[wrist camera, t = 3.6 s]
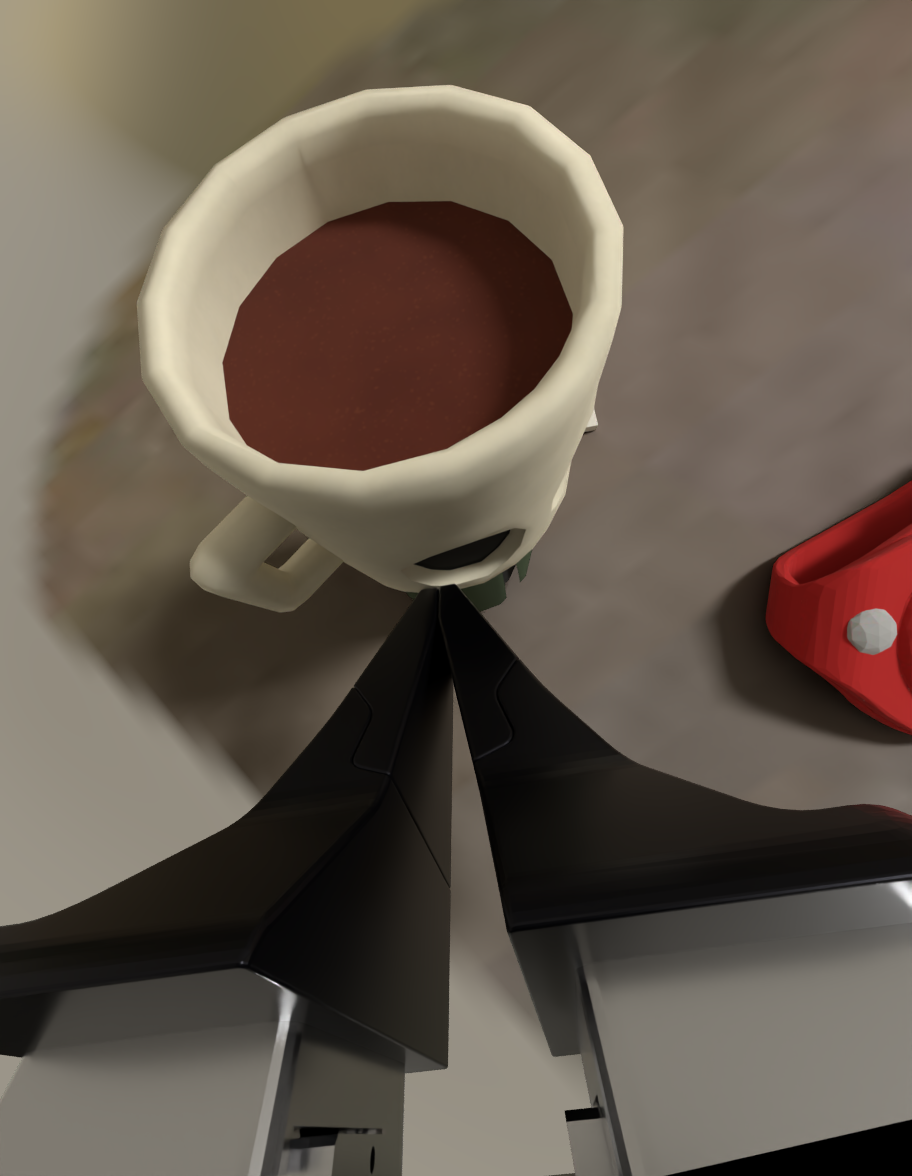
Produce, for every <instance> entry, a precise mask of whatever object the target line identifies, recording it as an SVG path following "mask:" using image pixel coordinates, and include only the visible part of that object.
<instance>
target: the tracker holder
mask: <svg viewBox="0 0 912 1176" xmlns="http://www.w3.org/2000/svg"><path fill="white" fill-rule="evenodd" d="M765 618H766V624H767V627H768V630H769V632H770V634H771V635H772V636H773V638H774V639H775V640H776V641H777V642H778V643H779V644H780V645H781V646H782V647H784V648H785V649H786V650H787V651H788V652H789V653H790V654H791V655H793V656H794V657H795V658H796V659H798V660H799V661H801V662H802V663H803V664H805V665H806V666H808V667H809V668H811V669H812V670H813V671H814V672H816V673H817V674H819V675H820V676H821V677H823V678H824V679H825V680H827V681H828V682H829V683H830V684H831V685H833V686H834V687H835V688H836V689H837V690H838V691H839V692H841V693H842V694H843V695H844V696H845V697H846V699H847V700H848V701H849V702H850V703H852V704H853V705H854V706H856V707H857V708H858V709H859V710H861V711H862V712H864V713H866V714H867V715H869V716H871V717H872V718H874V719H876V720H877V721H879V722H881V723H882V724H885V725H887V726H889V727H891V728H893V729H896V730H898V731H901V732H904V733H907V734H910V735H912V481H910V482H908V483H907V484H905V485H904V486H902V487H901V488H899V489H897V490H896V491H894V492H893V493H891V494H890V495H888V496H887V497H885V498H883V499H881V500H879V501H878V502H876V503H874V504H872V505H871V506H869V507H867V508H865V509H863V510H862V511H860V512H858V513H856V514H854V515H853V516H851V517H849V518H847V519H845V520H844V521H842V522H840V523H838V524H836V525H835V526H833V527H831V528H829V529H827V530H825V531H824V532H822V533H820V534H818V535H816V536H815V537H813V538H811V539H809V540H807V541H806V542H804V543H802V544H800V545H798V546H797V547H795V548H793V549H791V550H789V551H788V552H786V553H785V554H783V555H782V556H780V557H779V558H778V559H777V561H776V562H775V563H774V565H773V569H772V576H771V583H770V589H769V596H768V603H767V610H766V616H765Z"/></svg>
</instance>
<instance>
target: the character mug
mask: <svg viewBox="0 0 912 1176" xmlns="http://www.w3.org/2000/svg"><path fill="white" fill-rule="evenodd" d="M622 263H623V225H622V223H621V221H620V218H619V216H618V214H617V212H616V210H615V208H614V206H613V203H612V201H611V199H610V197H609V195H608V193H607V191H606V188H605V186H604V184H603V182H602V180H601V178H600V176H599V173H598V171H597V169H596V167H595V165H594V163H593V161H592V158H591V156H590V155H589V154H587V153H586V152H585V151H584V150H583V149H581V148H580V147H579V146H578V145H576V144H575V143H574V142H573V141H572V140H570V139H569V138H568V137H567V136H566V135H564V134H563V133H562V132H561V131H559V130H558V129H557V128H556V127H555V126H553V125H552V124H551V123H550V122H548V121H547V120H546V119H545V118H544V117H542V116H541V115H540V114H539V113H538V112H536V111H535V110H534V109H533V108H531V107H530V106H527V105H523V104H520V103H516V102H512V101H509V100H505V99H501V98H498V97H494V96H490V95H486V94H483V93H479V92H475V91H472V90H468V89H464V88H460V87H457V86H453V85H441V86H423V87H405V88H387V89H368V90H364V91H361V92H358V93H355V94H352V95H349V96H346V97H343V98H340V99H337V100H334V101H331V102H328V103H325V104H322V105H320V106H317V107H314V108H311V109H308V110H305V111H302V112H299V113H296V114H293V115H290V116H287V117H284V118H283V119H281V120H280V121H279V122H277V123H276V124H274V125H273V126H271V127H270V128H268V129H267V130H265V131H264V132H262V133H261V134H259V135H258V136H256V137H255V138H253V139H252V140H251V141H249V142H248V143H246V144H245V145H243V146H242V147H240V148H239V149H237V150H236V151H234V152H233V153H231V154H230V155H228V156H227V157H225V158H224V159H222V160H221V161H220V162H218V163H217V164H215V165H214V166H213V167H212V168H211V170H210V171H209V172H208V173H207V175H206V176H205V177H204V178H203V180H202V181H201V182H200V183H199V185H198V186H197V187H196V188H195V190H194V191H193V192H192V193H191V195H190V196H189V197H188V198H187V200H186V201H185V202H184V203H183V205H182V206H181V207H180V208H179V210H178V211H177V212H176V213H175V214H174V216H173V217H172V218H171V219H170V221H169V222H168V223H167V224H166V226H165V227H164V228H163V230H162V233H161V236H160V238H159V241H158V244H157V247H156V250H155V253H154V255H153V258H152V261H151V264H150V267H149V270H148V272H147V275H146V278H145V281H144V284H143V287H142V289H141V292H140V295H139V298H138V301H137V314H138V329H139V344H140V359H141V374H142V380H143V382H144V383H145V385H146V387H147V388H148V390H149V392H150V393H151V395H152V396H153V398H154V400H155V401H156V403H157V405H158V406H159V408H160V410H161V411H162V413H163V414H164V416H165V418H166V419H167V421H168V423H169V424H170V426H171V428H172V429H173V431H174V432H175V434H176V436H177V437H178V439H179V441H180V442H181V444H182V446H183V447H184V448H186V449H187V450H188V451H189V452H190V453H191V454H193V455H194V456H195V457H196V458H197V459H198V460H200V461H201V462H202V463H203V464H204V465H205V466H206V467H208V468H209V469H210V470H212V471H213V472H214V473H216V474H217V475H219V476H220V477H222V478H223V479H224V480H226V481H227V482H229V483H230V484H232V485H233V486H235V487H236V488H237V489H239V490H240V491H242V492H243V493H245V494H246V495H247V496H246V497H245V498H244V499H243V500H242V501H241V502H240V503H239V504H238V505H237V506H236V507H235V508H234V509H233V510H232V511H231V512H230V513H229V514H228V515H227V516H226V517H225V518H224V519H223V520H222V521H221V522H220V523H219V524H218V525H217V526H216V527H215V528H214V529H213V530H212V531H211V532H210V533H209V534H208V536H207V537H206V538H205V539H204V540H203V541H202V542H201V543H200V544H199V546H198V548H197V549H196V551H195V553H194V555H193V557H192V558H191V560H190V576H191V579H192V580H193V581H194V582H196V583H197V584H198V585H199V586H200V587H201V588H202V589H203V590H205V591H208V592H211V593H214V594H216V595H219V596H222V597H225V598H228V599H232V600H236V601H239V602H243V603H246V604H250V605H254V606H257V607H261V608H265V609H268V610H272V611H276V612H280V613H281V612H289V611H294V610H295V609H296V608H298V607H299V606H300V605H302V604H303V603H304V602H305V601H307V600H308V599H309V598H310V597H311V596H312V595H313V593H314V592H315V591H316V590H317V589H318V588H319V587H320V586H321V585H322V584H323V583H324V582H325V581H326V580H327V579H328V578H329V577H330V576H331V575H332V573H333V572H334V571H335V570H336V569H337V568H338V567H339V566H340V565H341V564H342V563H343V562H344V563H346V564H348V565H350V566H351V567H353V568H355V569H357V570H358V571H360V572H362V573H364V574H365V575H367V576H369V577H371V578H372V579H374V580H376V581H378V582H379V583H381V584H383V585H385V586H387V587H390V588H393V589H397V590H400V591H404V592H406V593H407V594H408V596H409V597H411V598H412V599H415V597H416V596H417V595H418V593H419V592H420V591H421V590H422V589H427V588H433V587H437V588H438V589H439V587H440V586H443V585H449V584H456V585H457V586H458V587H459V588H460V589H461V590H462V591H463V593H464V594H465V595H466V596H467V597H468V599H469V600H470V601H471V602H472V603H473V604H474V606H475V607H476V608H477V609H478V610H479V612H481V611H483V610H486V609H489V608H491V607H494V606H497V605H499V604H501V603H502V602H503V601H504V600H505V599H506V591H505V582H507V581H508V580H509V578H510V576H511V574H512V572H513V569H514V567H515V565H517V568H518V573H519V578H520V582H521V581H522V580H523V578H524V577H525V576H526V573H527V569H528V564H529V560H530V556H531V552H532V549H533V548H534V547H535V545H536V544H537V542H538V541H539V540H540V538H541V537H542V536H543V534H544V533H545V532H546V530H547V529H548V527H549V525H550V523H551V521H552V519H553V517H554V515H555V513H556V511H557V509H558V507H559V505H560V504H561V502H562V500H563V498H564V496H565V493H566V488H567V482H568V476H569V470H570V465H571V460H572V458H573V456H574V454H575V451H576V449H577V447H578V445H579V442H580V440H581V438H582V436H583V433H584V431H585V429H586V427H587V424H588V422H589V420H590V418H591V415H592V413H593V410H594V404H595V398H596V393H597V388H598V383H599V380H600V377H601V374H602V371H603V368H604V365H605V362H606V359H607V356H608V352H609V349H610V346H611V343H612V340H613V336H614V333H615V329H616V325H617V321H618V317H619V314H620V310H621V306H622ZM295 529H297V530H298V531H300V532H301V533H303V534H304V535H306V536H307V537H309V539H308V540H307V541H306V542H305V543H304V544H303V545H302V546H301V547H300V548H299V549H298V550H297V551H296V552H295V553H294V554H293V556H292V557H291V558H290V559H289V560H288V561H287V562H286V563H285V564H284V565H282V566H281V567H280V568H275V567H273V566H271V565H269V564H266V563H264V561H265V560H266V559H267V558H268V557H269V556H270V555H271V554H272V553H273V552H274V551H275V550H276V549H277V548H278V547H279V546H280V545H281V544H282V543H283V542H284V541H285V539H286V538H287V537H288V536H289V535H290V534H291V533H292V532H293V531H294V530H295Z"/></svg>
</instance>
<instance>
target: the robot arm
mask: <svg viewBox="0 0 912 1176" xmlns="http://www.w3.org/2000/svg"><path fill="white" fill-rule="evenodd" d="M453 683H454V688H455V692H456V696H457V700H458V704H459V708H460V712H461V716H462V721H463V725H464V729H465V733H466V737H467V741H468V745H469V749H470V754H471V758H472V762H473V765H474V770H475V774H476V778H477V783H478V787H479V791H480V796H481V801H482V806H483V811H484V816H485V821H486V826H487V831H488V836H489V841H490V847H491V852H492V857H493V862H494V867H495V872H496V877H497V882H498V887H499V892H500V897H501V902H502V908H503V913H504V918H505V923H506V929H507V932H508V935H509V938H510V941H511V943H512V946H513V949H514V952H515V954H516V957H517V960H518V963H519V965H520V968H521V971H522V974H523V976H524V979H525V982H526V985H527V987H528V990H529V993H530V996H531V999H532V1001H533V1004H534V1007H535V1010H536V1012H537V1015H538V1018H539V1021H540V1023H541V1026H542V1029H543V1032H544V1034H545V1037H546V1040H547V1043H548V1045H549V1048H550V1051H551V1054H552V1056H554V1057H557V1056H566V1055H575V1054H581V1059H582V1064H583V1069H584V1074H585V1078H586V1083H587V1088H588V1093H589V1098H590V1103H591V1108H585V1109H576V1110H566V1111H565V1115H566V1122H567V1128H568V1134H569V1140H570V1145H571V1152H572V1158H573V1164H574V1169H575V1173H572V1174H561V1175H551V1176H912V816H911V815H908V814H906V813H904V812H901V811H899V810H896V809H893V808H889V807H886V806H881V805H870V804H859V805H847V806H840V807H833V808H826V809H819V810H788V809H779V808H773V807H767V806H762V805H758V804H755V803H751V802H748V801H744V800H741V799H738V798H735V797H733V796H730V795H727V794H724V793H721V792H718V791H715V790H712V789H709V788H706V787H704V786H701V785H698V784H695V783H692V782H689V781H686V780H683V779H680V778H678V777H675V776H672V775H669V774H666V773H663V772H660V771H657V770H654V769H652V768H649V767H646V766H643V765H641V764H638V763H636V762H634V761H632V760H631V759H629V758H627V757H626V756H624V755H623V754H621V753H620V752H618V751H617V750H616V749H614V748H613V747H612V746H611V745H610V744H608V743H607V742H606V741H605V740H604V739H603V738H601V737H600V736H599V735H598V734H597V733H596V732H595V731H593V730H592V729H591V728H590V727H589V726H588V725H587V724H585V723H584V722H583V721H582V720H581V719H580V718H579V717H578V716H576V715H575V714H574V713H573V712H572V711H571V710H570V709H568V708H567V707H566V706H565V705H564V704H563V703H562V702H560V701H559V700H558V699H557V698H556V697H555V696H554V695H553V694H552V693H551V692H550V691H549V690H548V689H547V688H546V687H545V686H543V685H542V683H541V682H540V681H539V680H538V679H537V678H536V677H535V676H534V675H533V674H532V673H531V671H530V670H529V669H528V668H527V667H526V666H525V664H524V663H523V662H522V661H521V660H520V659H519V658H518V656H517V655H516V654H515V653H514V652H513V651H512V649H511V648H510V647H509V646H508V645H507V643H506V642H505V641H504V640H503V639H502V638H501V636H500V635H499V634H498V633H497V632H496V630H495V629H494V628H493V627H492V626H491V625H490V623H489V622H488V621H487V620H486V619H485V617H484V616H483V615H482V614H481V613H480V612H479V610H478V609H477V608H476V607H475V606H474V604H473V603H472V602H471V601H470V600H469V599H468V597H467V596H466V595H465V594H464V593H463V591H462V590H461V589H460V588H459V587H458V586H457V585H456V584H449V585H443V586H440V587H439V589H438V588H437V587H433V588H427V589H422V590H421V591H420V592H419V593H418V595H417V596H416V597H415V599H414V600H413V602H412V603H411V605H410V606H409V607H408V609H407V610H406V612H405V613H404V615H403V616H402V617H401V619H400V620H399V622H398V623H397V625H396V626H395V627H394V629H393V630H392V632H391V633H390V635H389V636H388V637H387V639H386V640H385V642H384V643H383V645H382V646H381V648H380V649H379V650H378V652H377V653H376V655H375V656H374V658H373V659H372V660H371V662H370V663H369V665H368V666H367V668H366V669H365V670H364V672H363V673H362V675H361V676H360V678H359V679H358V680H357V682H356V683H355V685H354V688H352V689H351V690H350V692H349V693H348V694H347V696H346V697H345V699H344V700H343V702H342V703H341V704H340V706H339V707H338V708H337V710H336V711H335V712H334V714H333V715H332V716H331V718H330V719H329V720H328V722H327V723H326V724H325V725H324V726H323V728H322V729H321V730H320V731H319V733H318V734H317V735H316V736H315V737H314V739H313V740H312V741H311V742H310V744H309V745H308V746H307V747H306V748H305V749H304V751H303V752H302V753H301V754H300V755H299V756H298V758H297V759H296V760H295V761H294V762H293V763H292V765H291V766H290V767H289V768H288V769H287V770H286V772H285V773H284V774H283V775H282V776H281V777H280V779H279V780H278V781H277V782H276V783H275V784H274V786H273V787H272V788H271V789H270V790H269V791H268V793H267V794H266V795H265V796H264V797H263V798H262V799H261V800H260V801H259V802H258V803H257V804H256V805H255V806H254V807H253V808H252V809H251V810H250V811H249V812H248V813H247V814H245V815H244V816H243V817H242V818H240V819H239V820H238V821H236V822H235V823H233V824H232V825H230V826H229V827H227V828H225V829H223V830H221V831H220V832H218V833H216V834H214V835H212V836H210V837H208V838H206V839H204V840H202V841H200V842H198V843H196V844H194V845H192V846H191V847H188V848H186V849H184V850H182V851H180V852H179V853H177V854H175V855H173V856H171V857H169V858H167V859H165V860H163V861H161V862H159V863H157V864H155V865H153V866H151V867H149V868H147V869H146V870H143V871H142V872H140V873H138V874H136V875H134V876H132V877H130V878H128V879H126V880H124V881H122V882H120V883H118V884H116V885H114V886H112V887H110V888H108V889H106V890H104V891H102V892H100V893H98V894H97V895H94V896H92V897H90V898H88V899H86V900H84V901H82V902H80V903H78V904H75V905H73V906H71V907H68V908H66V909H64V910H61V911H59V912H57V913H54V914H51V915H48V916H45V917H42V918H40V919H36V920H33V921H29V922H24V923H20V924H13V925H6V926H0V1055H7V1056H16V1057H22V1060H21V1062H20V1063H19V1065H18V1067H17V1069H16V1071H15V1073H14V1075H13V1076H12V1078H11V1080H10V1082H9V1084H8V1086H7V1088H6V1090H5V1092H4V1093H3V1095H2V1097H1V1099H0V1176H402V1156H403V1122H404V1121H403V1120H404V1087H405V1073H413V1072H422V1071H431V1070H439V1069H446V1068H447V1067H448V1030H449V1029H448V1028H449V960H450V893H451V891H450V889H449V888H450V885H451V814H452V742H453Z"/></svg>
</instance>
